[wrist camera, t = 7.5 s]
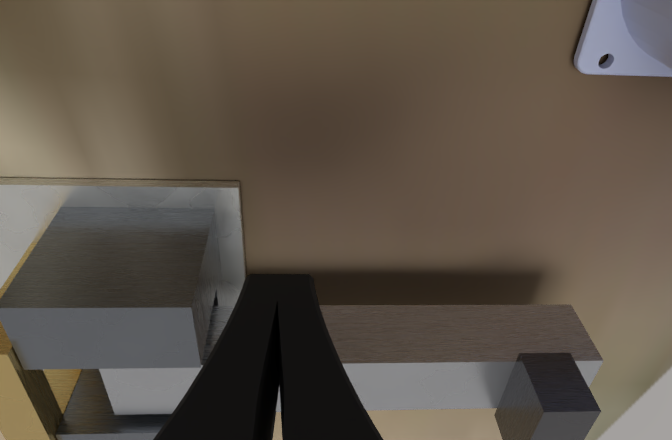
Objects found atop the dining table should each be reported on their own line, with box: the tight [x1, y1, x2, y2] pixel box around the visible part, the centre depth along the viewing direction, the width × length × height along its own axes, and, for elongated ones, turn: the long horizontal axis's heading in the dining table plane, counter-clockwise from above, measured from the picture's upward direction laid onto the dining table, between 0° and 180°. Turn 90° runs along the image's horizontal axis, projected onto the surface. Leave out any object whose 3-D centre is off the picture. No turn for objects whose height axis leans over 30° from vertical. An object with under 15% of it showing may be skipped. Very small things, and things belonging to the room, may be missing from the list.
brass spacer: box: [0, 243, 83, 440], centre depth 21 cm, size 2×6×6 cm, turn 177°
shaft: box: [99, 305, 603, 440], centre depth 20 cm, size 19×4×6 cm, turn 87°
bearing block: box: [0, 178, 246, 440], centre depth 21 cm, size 14×12×6 cm
